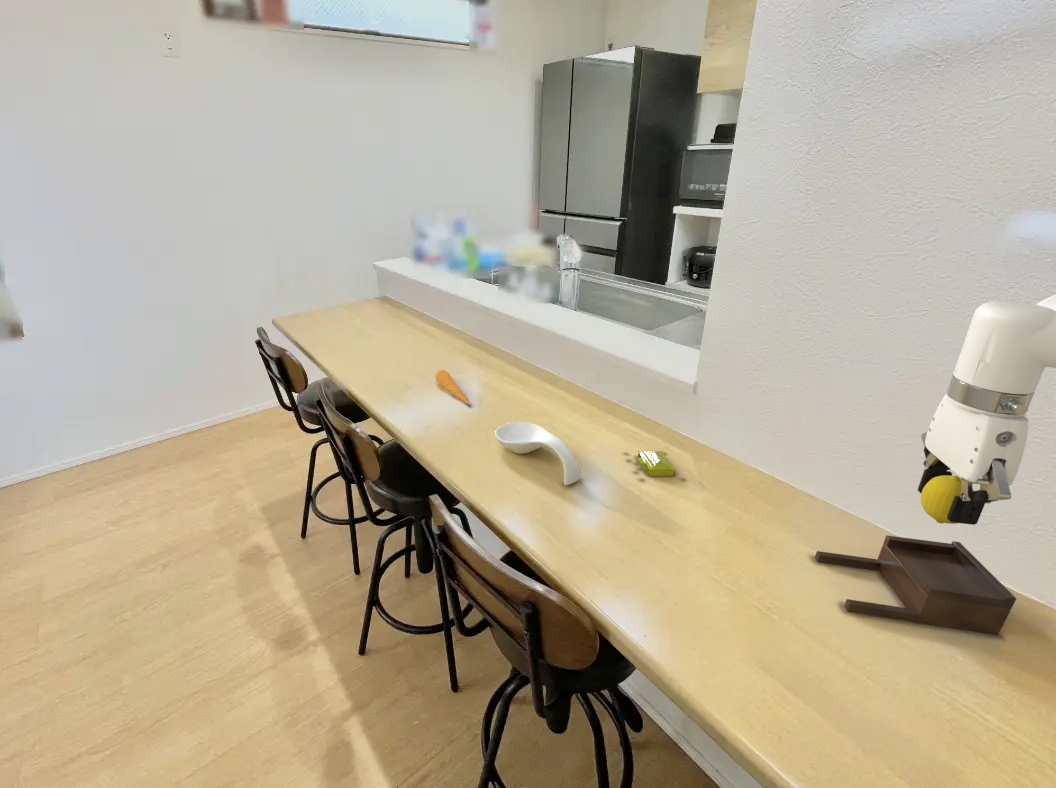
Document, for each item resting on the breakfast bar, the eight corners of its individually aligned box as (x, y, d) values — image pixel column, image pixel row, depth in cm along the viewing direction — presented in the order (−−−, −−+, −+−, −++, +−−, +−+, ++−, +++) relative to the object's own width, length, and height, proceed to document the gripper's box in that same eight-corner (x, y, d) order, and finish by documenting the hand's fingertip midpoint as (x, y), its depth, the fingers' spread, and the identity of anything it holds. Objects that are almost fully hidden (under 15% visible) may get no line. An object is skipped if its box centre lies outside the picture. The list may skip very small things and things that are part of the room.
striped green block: (683, 479, 105) (685, 468, 104) (640, 480, 105) (642, 468, 104) (664, 453, 115) (666, 442, 114) (625, 454, 115) (626, 443, 114)
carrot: (435, 382, 154) (431, 372, 151) (447, 375, 155) (443, 364, 152) (466, 415, 138) (461, 404, 135) (479, 407, 139) (475, 395, 136)
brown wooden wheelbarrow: (945, 575, 81) (959, 541, 78) (998, 635, 70) (1016, 598, 68) (814, 557, 85) (824, 524, 82) (847, 611, 74) (859, 575, 72)
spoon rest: (485, 443, 120) (485, 417, 117) (521, 428, 126) (522, 403, 123) (555, 493, 101) (557, 464, 99) (593, 474, 107) (596, 445, 105)
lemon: (904, 514, 74) (920, 469, 71) (930, 506, 76) (946, 462, 73) (949, 539, 69) (967, 492, 66) (975, 530, 71) (994, 483, 68)
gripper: (1084, 430, 57) (1026, 554, 63) (972, 371, 72) (935, 475, 78) (1005, 424, 58) (956, 546, 64) (913, 368, 74) (881, 470, 80)
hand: (945, 506), depth 71 cm, fingers closed on lemon, 5 cm apart
